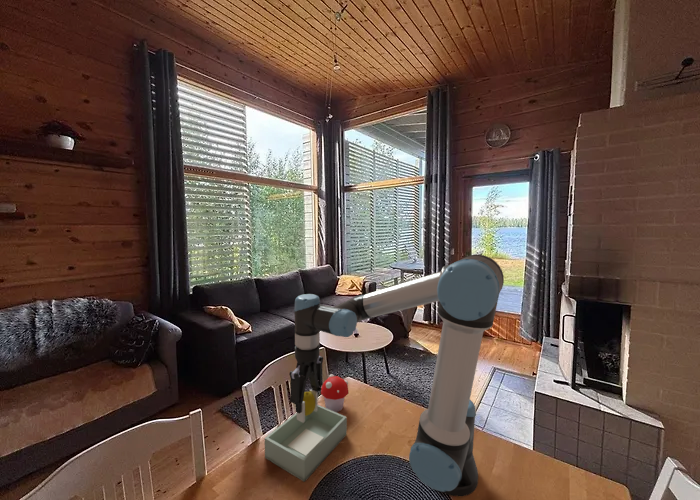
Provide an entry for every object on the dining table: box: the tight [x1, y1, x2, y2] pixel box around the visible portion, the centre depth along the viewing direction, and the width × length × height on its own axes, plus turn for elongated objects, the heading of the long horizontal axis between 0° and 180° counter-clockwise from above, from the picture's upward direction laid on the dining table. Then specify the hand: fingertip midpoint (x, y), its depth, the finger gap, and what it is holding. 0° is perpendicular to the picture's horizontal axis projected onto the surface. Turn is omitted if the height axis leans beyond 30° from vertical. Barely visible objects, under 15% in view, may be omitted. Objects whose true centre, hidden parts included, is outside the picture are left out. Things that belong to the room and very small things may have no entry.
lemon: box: [303, 390, 315, 416], centre depth 96 cm, size 6×6×8 cm
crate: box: [264, 404, 348, 482], centre depth 97 cm, size 16×22×6 cm
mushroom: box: [320, 373, 349, 413], centre depth 117 cm, size 11×11×12 cm
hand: (307, 414), depth 96 cm, fingers closed on lemon, 5 cm apart
